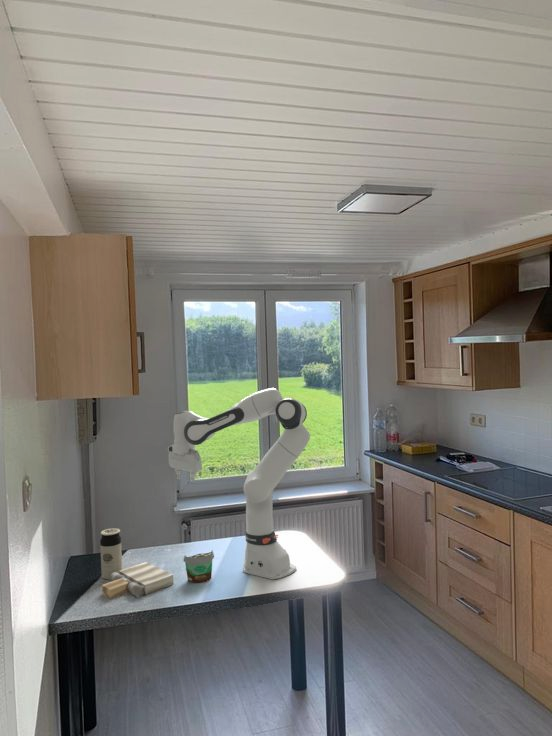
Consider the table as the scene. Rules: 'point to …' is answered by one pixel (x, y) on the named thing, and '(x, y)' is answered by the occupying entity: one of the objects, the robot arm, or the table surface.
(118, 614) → the table surface
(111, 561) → the travel mug
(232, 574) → the table surface
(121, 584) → the tan rectangular block
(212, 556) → the food container
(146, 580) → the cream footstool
